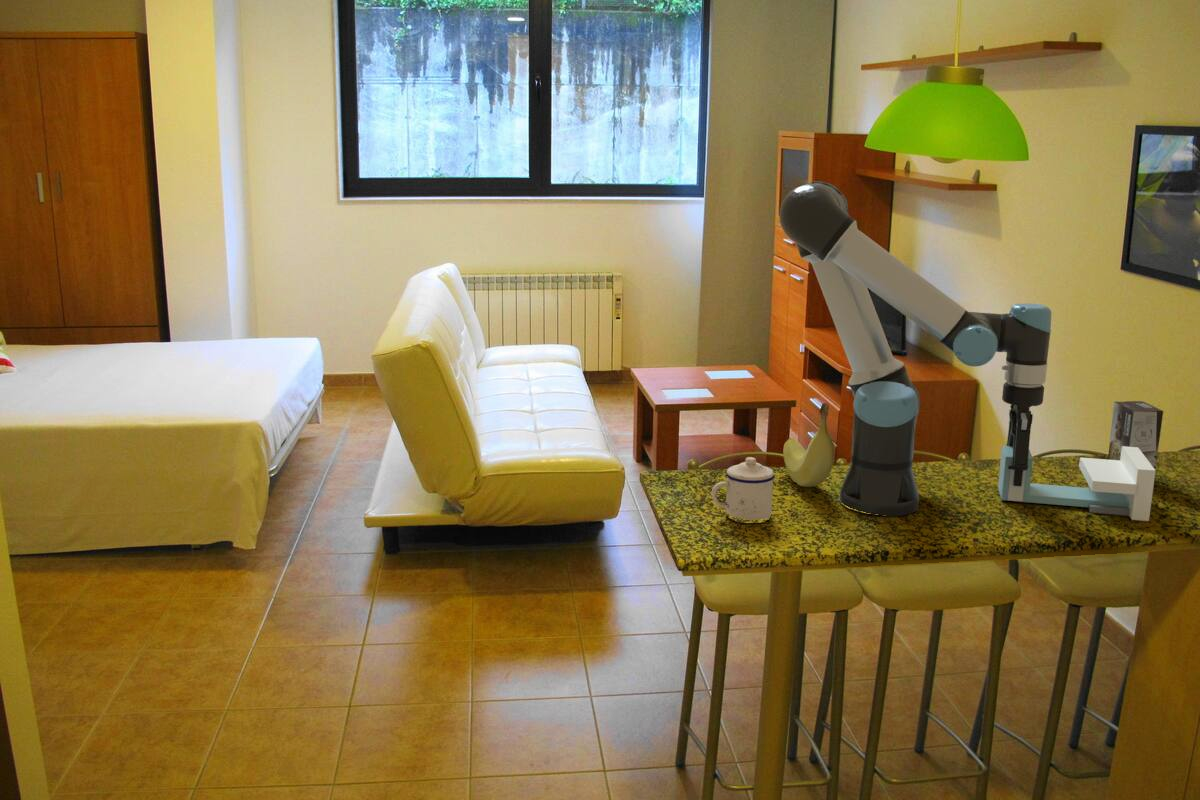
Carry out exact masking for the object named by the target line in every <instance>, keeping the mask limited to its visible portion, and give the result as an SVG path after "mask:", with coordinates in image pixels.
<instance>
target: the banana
mask: <svg viewBox="0 0 1200 800" xmlns="http://www.w3.org/2000/svg"><path fill="white" fill-rule="evenodd" d="M829 406H830V405H829V404H828V403H827V402H823V403H822V404H821V407H820V408H819V414H820V424H819V428H818V431H817V432H815V434H814V435H813V436H812V438H811V440H810V442H809V444H808V446H807V448H806V450H805V449H804V447H803V446H802V445H801V444H800V443H799V442H798V441H797V440H796V439H795V438H791V437H789V438H788V439H786V440H785V442H784V445H783V449H782V453H783V455H782V456H783V460H784V464H785V468H786V471H787V473H788V475H789V477H790V478H791V481H793V482H794V483H795V482H796V483H797V484H796V483H795V484H796V485H798V486H800V487H807V488H809V487H816V486H820V485H821V484H823V483H824V482H825V481H826V480H827V478H828V476H829V475H830V473H831V471H832V467H833V464H834V459H835V458H834V457H835V444H834V441H833V439H832V437H831V435H830V432H829V430H828V428H827V418H828V416H829V408H830V407H829Z"/></svg>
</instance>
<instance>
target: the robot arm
mask: <svg viewBox="0 0 1200 800" xmlns="http://www.w3.org/2000/svg"><path fill="white" fill-rule="evenodd" d="M778 216H779V224H780V226H781V229H782V231H783V232H784V234H785V235H786V237H788V238H789V239H790V240H791V241H793V242H794V243H795V245H796V248H797V250H798V253H799V255H800V259H802V260H803V261H806V262H808V263H810V264H811V265H812V268H813V270H814V274H815V277H816V279H817V282H818V285H819V286H820V290H821V291H822V295H823V298H824V300H825V303H826V305H827V307H828V311H829V313H830V317H831V318H832V321H833V324H834V326H835V329H836V332H837V334H838V335H837V336H838V337H839V340H840V342H841V345H842V347H843V350H844V353H845V355H846V358H847V361H848V363H849V366H850V369H851V372H852V373H851V376H850V378H849V380H848V385H849V387H850V390H851V394H852V397H853V398H854V400H853V405H852V407H853V425H852V426H853V427H852V439H851V441H852V442H851V453H850V455H851V457H850V465H849V467H848V470H847V472H846V474H845V477H844V479H843V482H842V484H841V487H840V489H839V499H840V501H841V503H843V504H844V505H846V506H848V507H850V508H853V509H856V510H858V511H863V512H866V513H871V514H878V515H886V516H885V517H901V516H907V515H911V514H913V513H916V512H917V511H918V510H919V505H920V503H919V502H920V494H919V491H918V486H917V483H916V478H915V475H914V470H913V458H914V450H915V449H914V447H915V434H916V426H917V418H918V415H919V412H920V407H921V403H920V401H921V400H920V394H919V392H918V389H917V388H916V387H915V385H914V383H913V382H911V379H910V376H909V374H908V371H907V368H906V366H905V363H904V362H903V361H901V360H899V359H896V358H895V357H894V356H893V353H892V350H891V348H890V345H889V343H888V340H887V337H886V334H885V332H884V328H883V326H882V324H881V321H880V318H879V316H878V313H877V310H876V309H875V308H876V307H875V305H874V302H873V300H872V297H871V295H870V292H869V290H870V291H871V292H873V293H874V294H875V295H877V296H878V297H879V298H880V299H882V300H884V302H886V303H887V304H888V305H890V306H891V307H892V308H894V309H895V310H897V311H899V312H900V313H901V314H902V315H903V316H905V317H906V318H907V319H909V320H910V321H912V322H913V323H914V324H915V325H917V326H919V328H922V329H923V331H924V332H927V333H928V334H929V335H930V336H931V337H933V338H934V339H936V340H937V341H939V343H941V344H942V345H943V346H944V348H946V349H949V350H950V351H951V352H953V354H954V355H955V357H956V359H957V360H958V361H959V362H960V363H961V364H963V365H966V366H968V367H981V366H984V365H986V364H987V363H988V364H989V363H990V361H991V360H993V358H994V356H995V355H996V352H997V353H1006V356H1005V365H1002V366H1001V370H1003V371H1004V381H1005V382H1004V383H1003V386H1002V396H1001V399H1002V401H1003V402H1005V403H1006V404H1008V405H1009V406H1010V409H1009V413H1008V415H1009V421H1008V431H1007V432H1008V433H1007V440H1006V445H1005V446H1013V459H1012V466H1008V469H1011V470H1010V480H1009V490H1008V500H1010V501H1009V502H1011V501H1012V502H1019V501H1021V502H1020V503H1023V502H1022V501H1023V491H1024V482H1025V472H1026V470H1027V469H1028V453H1029V450H1030V439H1031V429H1032V424H1033V417H1034V415H1033V413H1032V410H1031V411H1030V408H1031V407H1038V406H1041V405H1042V404H1043V402H1044V396H1045V386H1044V385H1043V384H1045V383H1046V378H1047V370H1048V356H1049V355H1048V354H1049V349H1050V339H1051V332H1052V330H1051V328H1052V327H1051V326H1052V310H1051V309H1050V308H1049V307H1048V306H1046V305H1043V304H1038V303H1026V302H1025V303H1015V304H1013V305H1012V306H1011V307H1010V310H1009V313H991V312H979V311H978V312H975V311H968V310H967V309H965V307H963V306H961V305H960V304H958V303H957V302H956V301H955V300H954V299H952V298H951V297H949V296H948V295H947V294H945V293H944V292H943V291H941V290H940V289H938V288H937V287H936V286H935V285H934V284H932V283H931V282H929V281H928V280H926V278H924V277H923V276H921V275H920V274H919V273H917V272H916V271H915V270H913V269H912V268H910V267H909V266H908V265H906V264H905V263H904V262H902V261H901V260H900V259H898V258H897V257H896V256H894V255H893V254H892V253H890V252H889V251H887V250H886V249H885V248H883V247H882V246H881V245H879V243H877V242H875V241H874V240H873V239H871V238H870V237H869V236H868V235H866V234H865V233H864V232H862V231H861V230H859V229H858V223H857V220H855V219H854V218H853V217H851V216H850V215H849V207H848V201H847V199H846V197H845V195H844V194H843V193H842V192H841V191H840V190H839V189H838V187H836V186H834V185H833V184H831V183H828V182H823V181H812V182H809V183H805V184H803V185H799V186H797V187H796V188H794V189H792V190H791V191H790V192H788V194H787V195H786V196H785V197H784V198H783V200H782V202H781V204H780V208H779V215H778ZM840 501H839V502H840ZM841 503H840V504H841Z"/></svg>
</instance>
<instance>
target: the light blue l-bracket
mask: <svg viewBox="0 0 1200 800" xmlns="http://www.w3.org/2000/svg"><path fill="white" fill-rule="evenodd" d="M1000 455H1001V456H1000V464H999V465H1000V466H999V474H998V485H997V488H998V489H997V490H998V492H999V497H1000V499H1001V501H1006V502H1007V501H1009V502H1011V501H1010V500H1008V490H1009V480H1010V470H1011V469H1008V466H1012V459H1013V446H1006V445H1001V454H1000ZM1033 461H1034V459H1033V455H1032V453H1031V450H1030V449H1029V453H1028V469H1027V470H1026V472H1025V482H1024V491H1023V501H1022V502H1021V501H1018V502H1019V503H1033V504H1045V505H1057V506H1068V507H1081V508H1089V505H1101V506H1113V507H1125V508H1128V504H1129V503H1128V502H1127V500H1126V498H1125V497H1124V495H1123V494H1122V493H1109V492H1097V491H1092V490H1091V488H1090V487H1084V486H1083V487H1080V486H1068V485H1055V484H1046V483H1045V484H1043V483H1033V482H1032V483H1031V481H1032V473H1033V472H1032V469H1033Z"/></svg>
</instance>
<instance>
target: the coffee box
mask: <svg viewBox="0 0 1200 800" xmlns="http://www.w3.org/2000/svg"><path fill="white" fill-rule="evenodd" d="M1163 415H1164V411H1163V410H1162V409H1159V408H1158V407H1156V406H1153V405H1151V404H1150V403H1147V402H1145V401H1140V400H1137V401H1136V400H1131V401H1130V400H1129V401H1127V400H1126V401H1114V402H1113V411H1112V418H1111V419H1112V420H1111V427H1110V437H1109V447H1108V456H1107V460H1120V457H1121V449H1122V446H1126V447H1138V448H1139V449H1140V451H1141V452H1142V453H1143V455H1144V456H1145V457H1146V458H1147V460H1148V461H1149V462H1150V464H1151V465H1152V466H1153V468H1154V469H1155V470H1156V469H1157V461H1158V455H1159V447H1160V446H1159V445H1160V437H1161V431H1162V424H1163V417H1164V416H1163ZM1156 471H1157V470H1156Z"/></svg>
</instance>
